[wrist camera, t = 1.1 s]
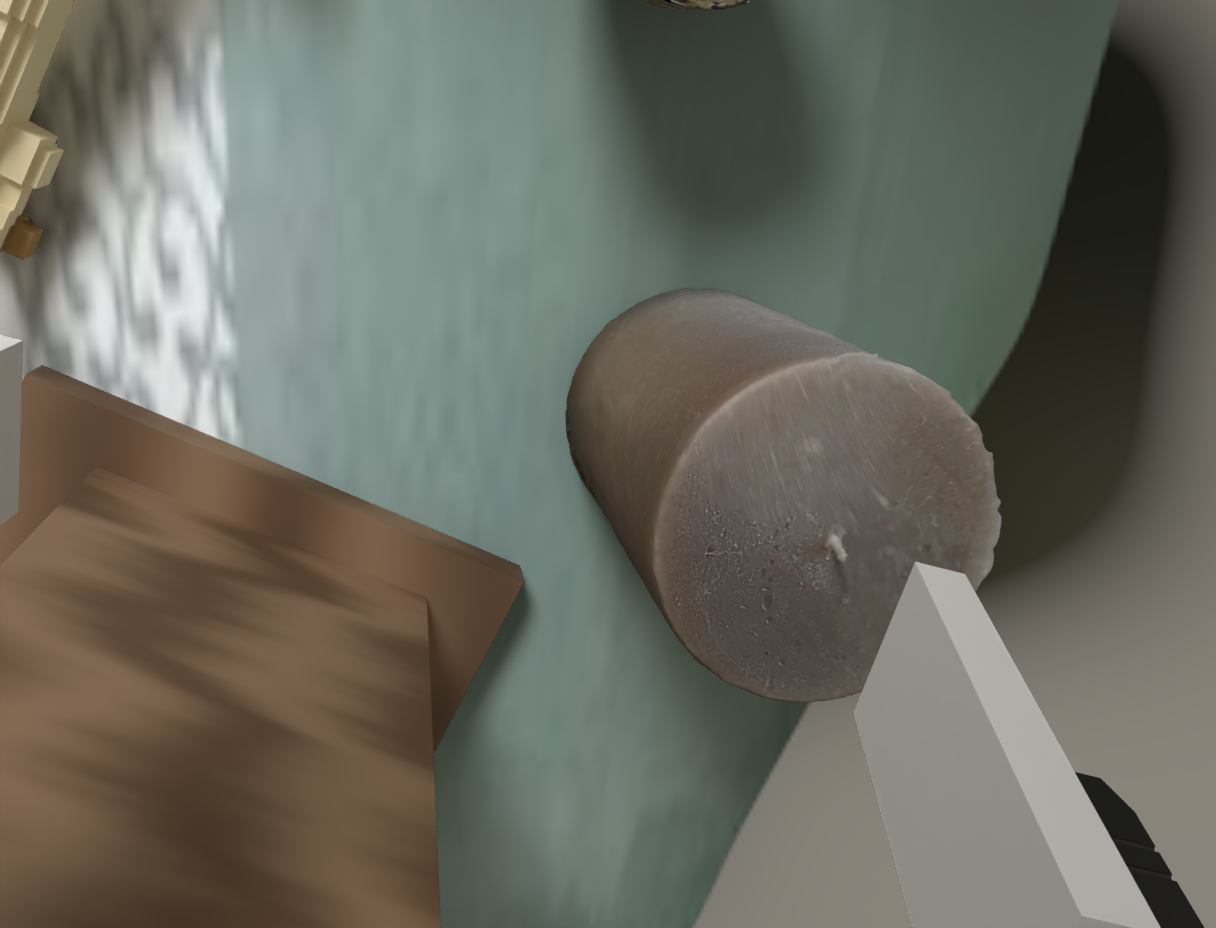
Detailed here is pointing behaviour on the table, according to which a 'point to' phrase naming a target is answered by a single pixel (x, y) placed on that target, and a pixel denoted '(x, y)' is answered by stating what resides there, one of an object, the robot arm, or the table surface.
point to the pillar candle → (775, 485)
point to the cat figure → (25, 113)
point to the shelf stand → (219, 682)
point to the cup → (697, 4)
